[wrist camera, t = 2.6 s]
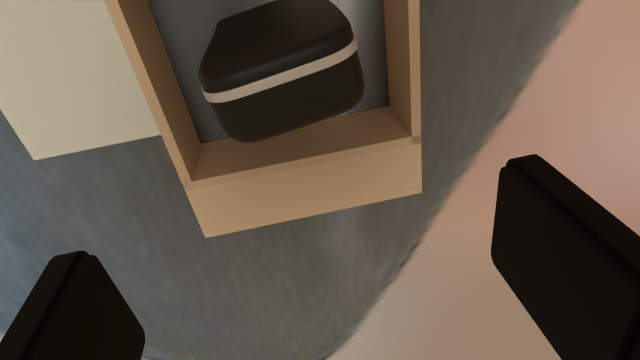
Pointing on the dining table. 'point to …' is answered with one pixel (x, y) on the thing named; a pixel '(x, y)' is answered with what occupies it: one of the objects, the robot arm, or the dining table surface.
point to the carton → (286, 137)
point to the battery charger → (281, 68)
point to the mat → (68, 78)
